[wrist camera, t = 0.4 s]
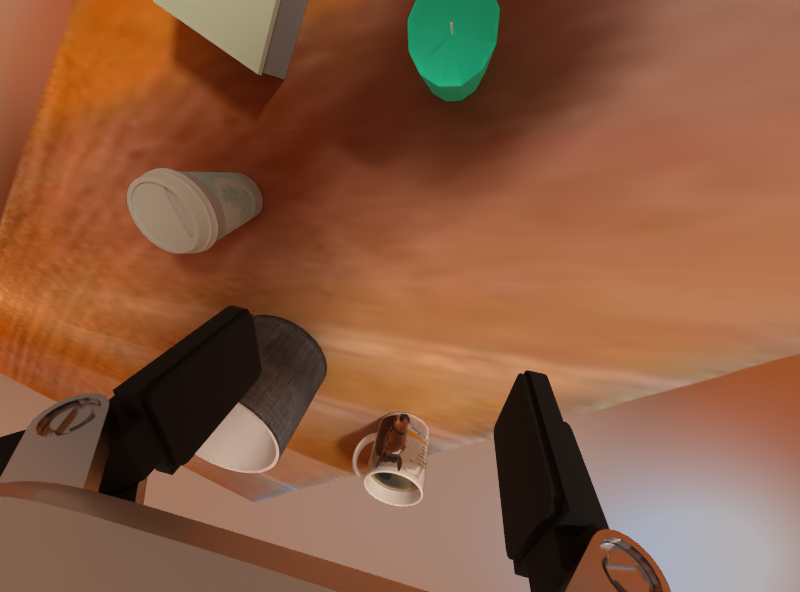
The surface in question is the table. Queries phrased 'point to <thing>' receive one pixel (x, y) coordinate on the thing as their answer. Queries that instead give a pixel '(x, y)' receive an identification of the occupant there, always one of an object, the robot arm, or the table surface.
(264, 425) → the planter
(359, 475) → the mug
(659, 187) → the table surface
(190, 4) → the pedestal
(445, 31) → the candle
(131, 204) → the coffee cup
